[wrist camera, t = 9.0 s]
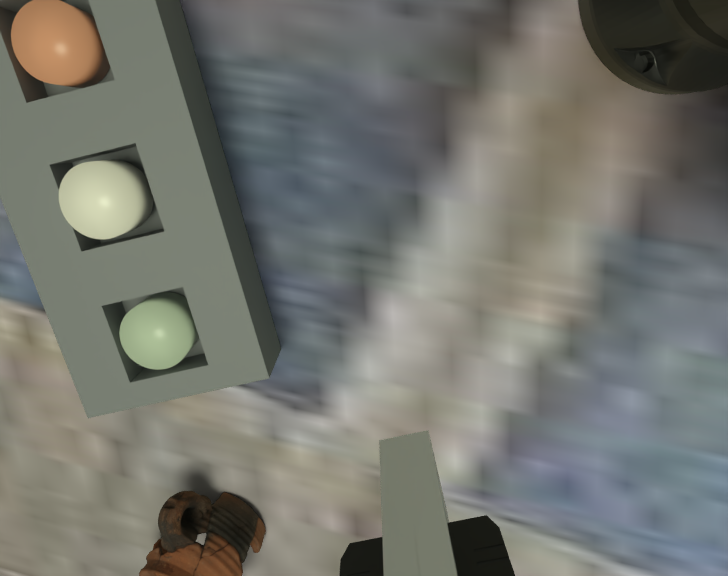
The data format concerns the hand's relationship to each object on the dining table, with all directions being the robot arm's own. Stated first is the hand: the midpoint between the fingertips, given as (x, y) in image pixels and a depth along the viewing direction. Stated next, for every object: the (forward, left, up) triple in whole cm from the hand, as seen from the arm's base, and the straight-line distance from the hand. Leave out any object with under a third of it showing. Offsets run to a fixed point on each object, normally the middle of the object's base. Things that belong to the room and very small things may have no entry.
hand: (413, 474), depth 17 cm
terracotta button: (+17, -20, -26) cm, 37 cm away
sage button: (+17, 0, -26) cm, 31 cm away
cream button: (+17, -10, -25) cm, 32 cm away
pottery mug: (+21, +20, -30) cm, 41 cm away
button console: (+17, -10, -29) cm, 35 cm away
